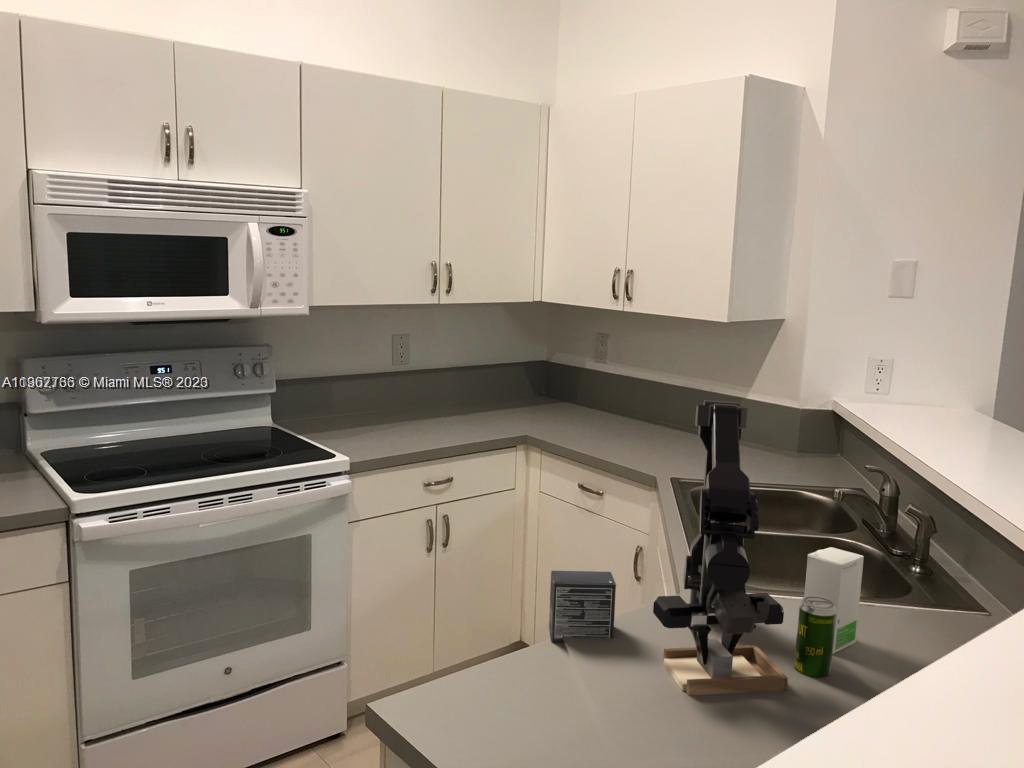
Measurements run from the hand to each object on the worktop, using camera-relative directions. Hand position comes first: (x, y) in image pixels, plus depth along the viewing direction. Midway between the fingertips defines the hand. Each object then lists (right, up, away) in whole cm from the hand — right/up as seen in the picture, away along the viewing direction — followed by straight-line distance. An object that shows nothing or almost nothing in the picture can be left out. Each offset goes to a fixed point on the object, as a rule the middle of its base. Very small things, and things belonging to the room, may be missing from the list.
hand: (713, 663), depth 129 cm
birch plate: (0, -2, 0) cm, 2 cm away
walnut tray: (+1, -3, +1) cm, 3 cm away
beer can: (+16, -3, +4) cm, 17 cm away
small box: (-19, 0, +15) cm, 24 cm away
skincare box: (+23, -2, +16) cm, 28 cm away
